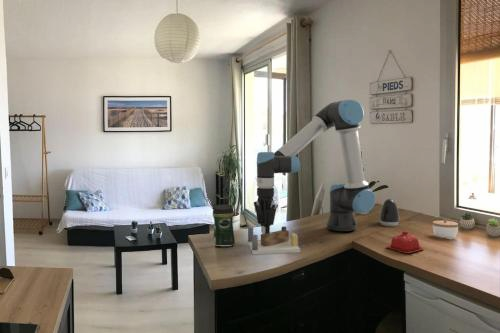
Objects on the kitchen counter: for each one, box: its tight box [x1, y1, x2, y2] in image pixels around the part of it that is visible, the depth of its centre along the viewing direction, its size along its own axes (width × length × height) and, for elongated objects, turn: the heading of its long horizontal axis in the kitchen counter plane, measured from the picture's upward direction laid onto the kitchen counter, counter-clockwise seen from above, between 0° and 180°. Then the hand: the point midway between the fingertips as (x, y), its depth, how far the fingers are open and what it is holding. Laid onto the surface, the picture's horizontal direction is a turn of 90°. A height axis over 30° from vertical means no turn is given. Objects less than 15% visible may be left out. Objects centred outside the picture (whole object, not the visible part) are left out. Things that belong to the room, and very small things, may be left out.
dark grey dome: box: [379, 198, 401, 227], centre depth 207 cm, size 10×10×15 cm
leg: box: [260, 226, 290, 246], centre depth 170 cm, size 14×3×6 cm, turn 129°
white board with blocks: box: [247, 227, 301, 255], centre depth 168 cm, size 20×18×8 cm
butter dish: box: [386, 229, 425, 254], centre depth 162 cm, size 12×12×8 cm
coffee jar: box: [212, 204, 236, 246], centre depth 173 cm, size 10×8×19 cm
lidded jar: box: [432, 218, 459, 241], centre depth 179 cm, size 11×11×9 cm
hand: (265, 240), depth 169 cm, fingers closed
